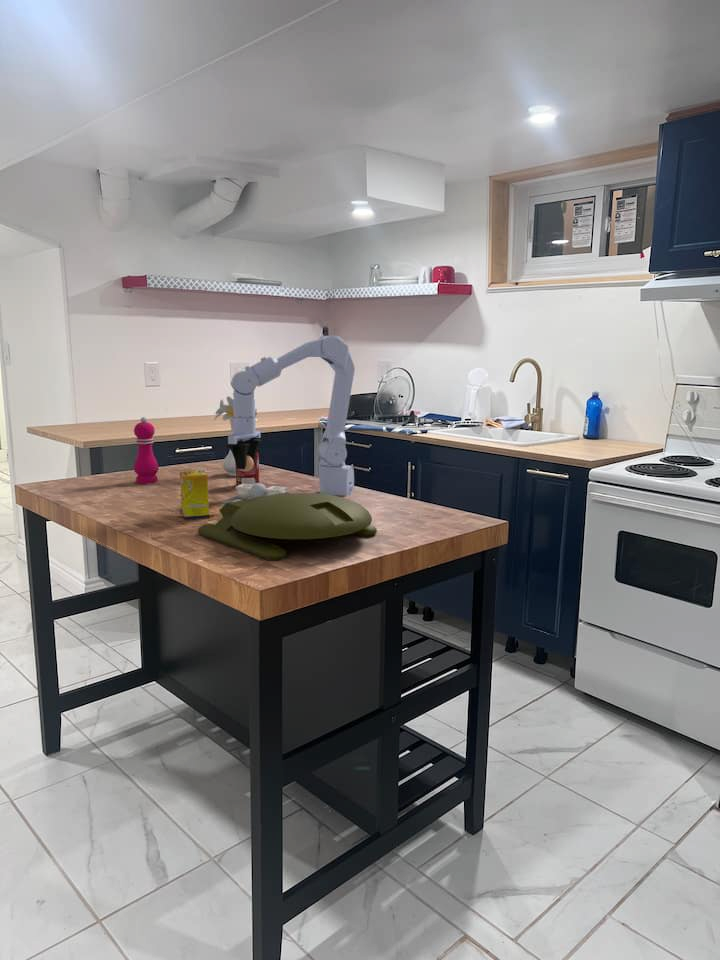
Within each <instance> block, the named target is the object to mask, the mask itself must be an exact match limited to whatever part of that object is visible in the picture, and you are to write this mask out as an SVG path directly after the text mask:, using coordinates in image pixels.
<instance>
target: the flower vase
mask: <svg viewBox="0 0 720 960" xmlns="http://www.w3.org/2000/svg"><path fill="white" fill-rule="evenodd" d="M233 399H234V398H232V397H231V396H229V395H228V396H226V401H227V404H226V403H224V399H223V398H221V399H220V402H219V408H217V410H216V411H215V415H216V416H215V417H214V419H213V420H214V421H215V420H216V419H217V418H218V417H220V416H221V415H223V416H222V420H223V421H227V420H229V424H230V433H233V432H234V417H233ZM258 413H259V411H258V409H257V408H255V422H257V421H258V418H257V415H258ZM221 463H222V464H221V466H222V469H223V470H224V471H225V472H226V474H227V475H228V476H229V477H236V468H235V459H234V456H233V454H232V451H231V450H230V449H229V452H228V454H227V455H226V457H225V458H224V459H223V460H222V462H221Z"/></svg>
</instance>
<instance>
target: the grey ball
mask: <svg viewBox="0 0 720 960" xmlns="http://www.w3.org/2000/svg"><path fill="white" fill-rule="evenodd" d="M266 489H267V487H266V485H265V484H263V483H261V482H259V483H256V484H254V485H253V486H252V487H251V490H250V493H251V496H252V497H253V498H257V497H263V496H266V494H267V491H266Z"/></svg>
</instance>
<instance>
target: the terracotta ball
mask: <svg viewBox="0 0 720 960" xmlns="http://www.w3.org/2000/svg"><path fill="white" fill-rule="evenodd" d="M253 465H254V461H253V459H252V458H251V457H250V456H248V455H247V457H246V467H245V469H240V470H242V471H245V472H246V471H250V470H251V469H252V468H253Z"/></svg>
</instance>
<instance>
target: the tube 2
mask: <svg viewBox="0 0 720 960" xmlns="http://www.w3.org/2000/svg"><path fill="white" fill-rule="evenodd" d="M287 489H288V486H277V485H276V486H275V485H272V486H270V487H266V491H267V496H268V495H274V494H280V493H286V490H287Z"/></svg>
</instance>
